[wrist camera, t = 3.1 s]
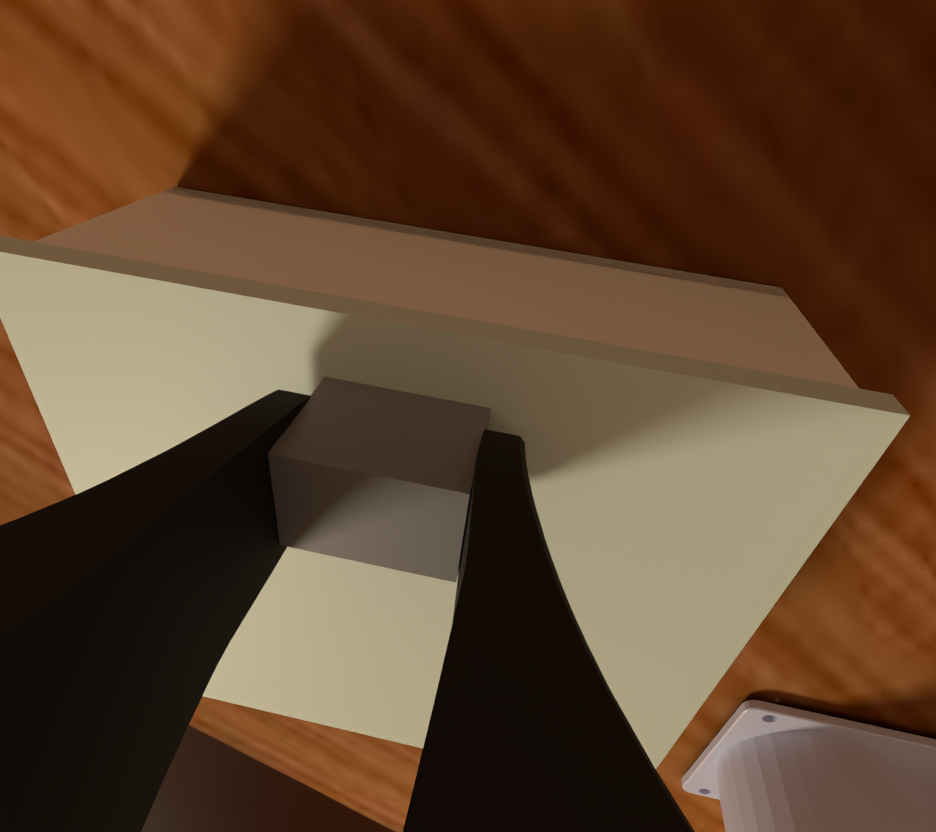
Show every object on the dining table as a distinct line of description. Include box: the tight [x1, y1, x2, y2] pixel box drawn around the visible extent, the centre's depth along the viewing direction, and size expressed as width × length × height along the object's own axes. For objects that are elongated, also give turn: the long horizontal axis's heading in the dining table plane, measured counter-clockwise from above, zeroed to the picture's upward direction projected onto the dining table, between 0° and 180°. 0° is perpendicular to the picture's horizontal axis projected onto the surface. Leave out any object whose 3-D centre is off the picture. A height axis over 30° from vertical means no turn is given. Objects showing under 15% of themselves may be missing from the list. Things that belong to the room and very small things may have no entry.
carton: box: [34, 187, 858, 388], centre depth 16 cm, size 15×14×4 cm
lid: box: [0, 236, 910, 769], centre depth 13 cm, size 16×15×3 cm
